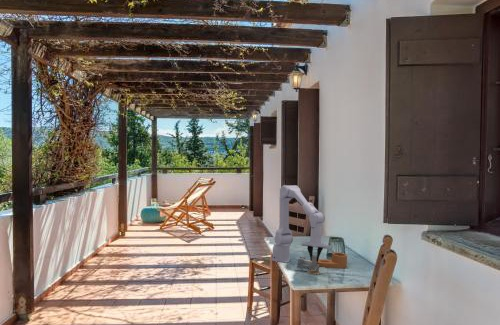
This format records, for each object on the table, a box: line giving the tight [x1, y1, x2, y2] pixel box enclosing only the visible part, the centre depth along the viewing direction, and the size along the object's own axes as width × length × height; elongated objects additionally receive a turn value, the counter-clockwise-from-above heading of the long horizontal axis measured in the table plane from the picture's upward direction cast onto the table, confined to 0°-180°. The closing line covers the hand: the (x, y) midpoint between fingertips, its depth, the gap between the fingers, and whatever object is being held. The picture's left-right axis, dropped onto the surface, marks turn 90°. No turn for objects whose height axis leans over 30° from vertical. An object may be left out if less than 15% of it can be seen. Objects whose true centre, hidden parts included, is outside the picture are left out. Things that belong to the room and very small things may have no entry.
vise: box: [297, 255, 315, 270], centre depth 218 cm, size 10×11×5 cm
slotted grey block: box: [308, 254, 320, 271], centre depth 210 cm, size 3×5×7 cm, turn 73°
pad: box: [306, 269, 321, 276], centre depth 210 cm, size 6×6×1 cm
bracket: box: [317, 252, 348, 269], centre depth 224 cm, size 18×8×7 cm, turn 95°
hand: (314, 261), depth 210 cm, fingers closed on slotted grey block, 2 cm apart
